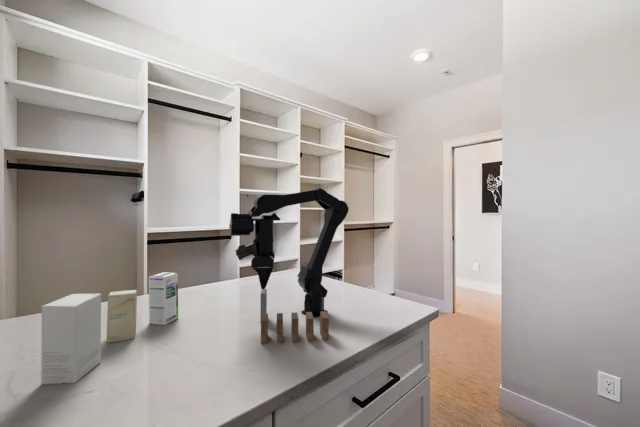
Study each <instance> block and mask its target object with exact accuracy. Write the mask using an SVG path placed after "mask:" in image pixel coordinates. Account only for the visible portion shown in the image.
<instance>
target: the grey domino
mask: <svg viewBox="0 0 640 427" xmlns="http://www.w3.org/2000/svg"><path fill="white" fill-rule="evenodd" d="M267 293H268V290H267V288H265V289H261V291H260V319H261V318H262V314H268V312H267V310H268V309H267V307H268V306H267V305H268V303H267V302H268V300H267V299H268V296H267V295H268V294H267ZM260 324H261V320H260Z"/></svg>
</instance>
